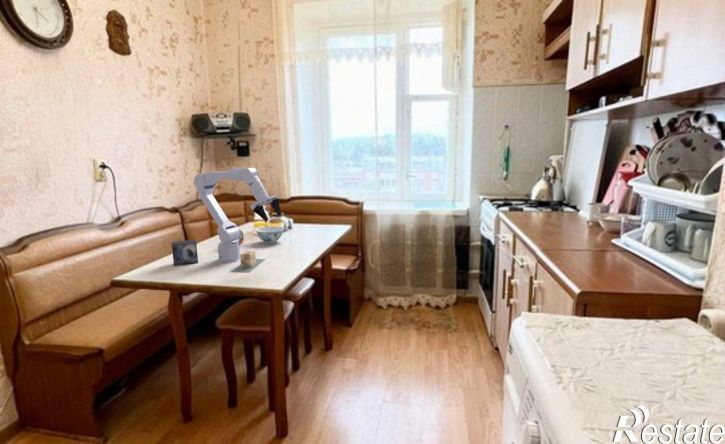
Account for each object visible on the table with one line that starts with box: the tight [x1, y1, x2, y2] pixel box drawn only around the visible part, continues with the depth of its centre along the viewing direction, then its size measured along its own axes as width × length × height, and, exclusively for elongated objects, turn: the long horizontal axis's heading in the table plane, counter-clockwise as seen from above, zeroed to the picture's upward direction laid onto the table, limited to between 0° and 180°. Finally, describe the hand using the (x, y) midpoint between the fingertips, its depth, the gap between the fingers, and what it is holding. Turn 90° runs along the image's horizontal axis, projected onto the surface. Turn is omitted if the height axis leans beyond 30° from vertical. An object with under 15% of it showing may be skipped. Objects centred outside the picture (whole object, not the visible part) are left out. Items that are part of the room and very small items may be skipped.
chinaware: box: [255, 225, 284, 245], centre depth 226 cm, size 15×15×8 cm
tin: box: [239, 230, 244, 246], centre depth 219 cm, size 15×3×8 cm, turn 168°
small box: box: [171, 239, 199, 267], centre depth 189 cm, size 11×6×10 cm, turn 117°
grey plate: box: [229, 258, 267, 274], centre depth 184 cm, size 9×20×1 cm, turn 173°
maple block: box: [240, 250, 257, 267], centre depth 183 cm, size 5×5×6 cm
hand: (273, 218), depth 181 cm, fingers open, 7 cm apart
